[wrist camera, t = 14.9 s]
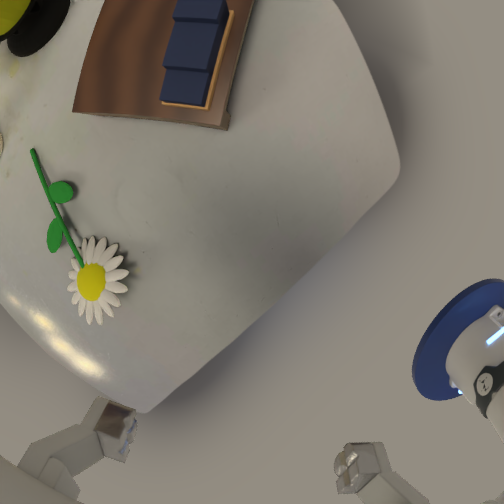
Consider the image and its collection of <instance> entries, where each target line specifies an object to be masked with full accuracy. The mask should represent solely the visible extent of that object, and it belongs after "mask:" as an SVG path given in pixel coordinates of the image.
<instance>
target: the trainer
mask: <svg viewBox="0 0 504 504" xmlns="http://www.w3.org/2000/svg"><path fill="white" fill-rule="evenodd" d="M234 16H235V14H234V11H233V10H229V9H228V5H227V2H226V0H178V1H177V4H176V6H175V9H174V12H173V15H172V18H173V19H174V21H175V23H174V26H173V29H172V33H171V36H170V39H169V42H168V46H167V49H166V52H165V56H164V59H163V63H162V66H163V67H164V68H166V73H165V77H164V81H163V85H162V89H161V93H160V97H159V100H161V101H162V104H163V105H166V106H175V107H183V108H191V109H198V110H205V111H210V106H211V102H212V98H213V94H214V90H215V85H216V81H217V77H218V73H219V69H220V66H221V62H222V58H223V54H224V51H225V47H226V43H227V40H228V36H229V33H230V29H231V26H232V22H233V19H234Z"/></svg>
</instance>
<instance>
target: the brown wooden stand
mask: <svg viewBox="0 0 504 504" xmlns="http://www.w3.org/2000/svg"><path fill="white" fill-rule="evenodd" d="M177 1H178V0H105V1H104V4H103V6H102V9H101V12H100V14H99V17H98V19H97V22H96V25H95V28H94V31H93V34H92V37H91V40H90V43H89V46H88V49H87V52H86V56H85V59H84V63H83V66H82V70H81V74H80V78H79V82H78V86H77V90H76V95H75V100H74V104H73V109H72V112H74V113H82V114H90V115H97V116H113V117H127V118H139V119H149V120H158V121H167V122H175V123H182V124H189V125H196V126H203V127H209V128H215V129H221V130H228V126H229V122H230V117H231V116H230V114H229V113H228V112H227V111H226V107H227V103H228V99H229V94H230V90H231V86H232V82H233V78H234V74H235V70H236V66H237V62H238V58H239V54H240V51H241V47H242V43H243V39H244V36H245V32H246V28H247V25H248V21H249V18H250V14H251V11H252V7H253V4H254V1H255V0H226V2H227V5H228V9H229V10H233V11H234V14H235V16H234V19H233V22H232V26H231V29H230V33H229V36H228V40H227V43H226V47H225V51H224V54H223V58H222V62H221V66H220V69H219V73H218V77H217V81H216V85H215V90H214V94H213V98H212V102H211V106H210V111H205V110H198V109H191V108H183V107H175V106H166V105H163V104H162V101H161V100H159V97H160V93H161V89H162V85H163V81H164V77H165V73H166V68H164V67H163V66H162V63H163V59H164V56H165V52H166V49H167V46H168V42H169V39H170V36H171V33H172V29H173V26H174V23H175V21H174V19H173V18H172V15H173V12H174V9H175V6H176V4H177Z"/></svg>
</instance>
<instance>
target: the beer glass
mask: <svg viewBox="0 0 504 504" xmlns="http://www.w3.org/2000/svg"><path fill="white" fill-rule="evenodd" d="M2 150H3V138H2V135H1V133H0V156H1V153H2Z"/></svg>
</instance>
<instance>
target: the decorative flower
mask: <svg viewBox="0 0 504 504" xmlns="http://www.w3.org/2000/svg"><path fill="white" fill-rule="evenodd" d="M30 153H31V156H32V159H33V162H34V165H35V167H36V170H37V173H38V175H39V178H40V180H41V183H42V186H43V188H44V190H45V193H46V195H47V198H48V200H49V202H50V205H51V207H52V209H53V211H54V214H55V216H56V218H55V219H53V221H52V222H51V224H50V226H49V229H48V232H47V245H48V248H49V250H50V252H51V253H55V252H56V251H57V250H58V248H59V247H60V244H61V241H62V234H63V233H64V235H65V237H66V239H67V241H68V243H69V245H70V247H71V249H72V251H73V253H74V255H75V257H76V259H75V258H72V259H71V262H72V266H73V268H74V269H75V270H74V269H73V270H70V271H69V274H68V275H69V277H70V279H72V280H74V281H73V282H71V283H70V284H69V286H68V287H67V290H68V291H69V292H74V291H76V290H77V291H76V292H75V294H74V295H73V298H72V304H74V305H75V304H77V303H78V302H79V307H78V311H79V315H80V316H82V315H83V313H84V311H85V308H86V318H87V322H88V324H89V325H90V324H91V323H92V320H93V314H94V312H95V317H96V320H97V322H98V324H99V325H100V326H101V325H102V324H103V312H102V308H103V310H104V311H105V312H106V313H107V314H108V315H109V316H110V317H114V313H113V310H112V308H111V306H110V304H111V305H113V306H116V307H119V306H121V305H120V301H119V299H118V297H117V296H116V295H115V294H114V293H113V292H115V293H125V292H126V291H127V290H128V289H127V287H126V286H125V285H124V284H122V283H120V282H118V281H117V280H120V279H123V278H124V277H126V276H127V275H128V273H129V272H128V271H127V270H125V269H116V268H117V267H118V266H119V265H120V264H121V262H122V261H123V256H116V257H113V255H114V254H115V253H116V250H117V248H118V244H113V245H111V246H109V247H108V248H107V249H106V243H107V239H106V237H103V238H102V239H101V240H100V241H99V242H98V244H97V246H96V247H95V239H94V237H93V236H92V237H91V238H90V239H89V242H88V245H87V240H86V238H84V239H83V242H82V248H81V249H80V248H79V247H78V248H76V246H75V244H74V242H73V240H72V238H71V236H70V234H69V232H68V230H67V228H66V226H65V224H64V221H63V219H62V217H61V215H60V213H59V211H58V208H57V206H56V204H55V203H58V204H60V203H66V202H68V201H69V200H70V199H71V198H72V196H73V190H72V187H71V186H70V185H69V184H68V183H65V182H62V181H59V182H55V183H52V184H51V185H50V186H49V188H48V185H47V183H46V180H45V178H44V175H43V173H42V170H41V167H40V165H39V162H38V159H37V157H36V154H35V151H34V149H31V150H30ZM105 249H106V250H105ZM112 257H113V258H112ZM111 258H112V259H111Z"/></svg>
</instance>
